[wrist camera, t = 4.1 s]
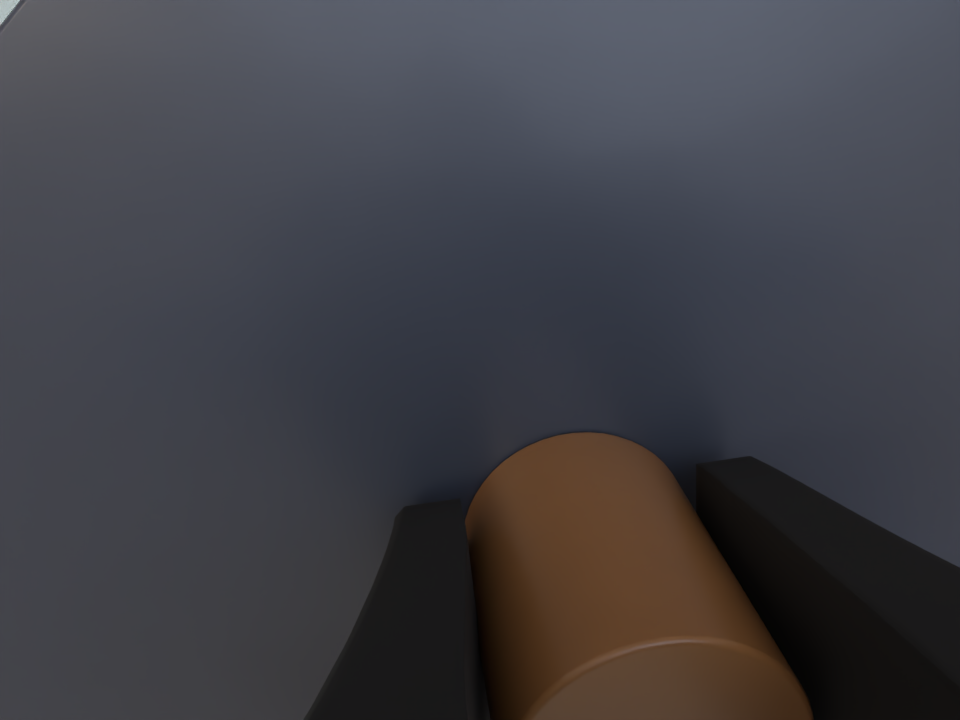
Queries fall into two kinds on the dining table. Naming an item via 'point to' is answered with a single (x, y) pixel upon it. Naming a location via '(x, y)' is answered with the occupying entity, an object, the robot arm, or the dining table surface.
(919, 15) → the pan lid
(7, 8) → the dining table surface
